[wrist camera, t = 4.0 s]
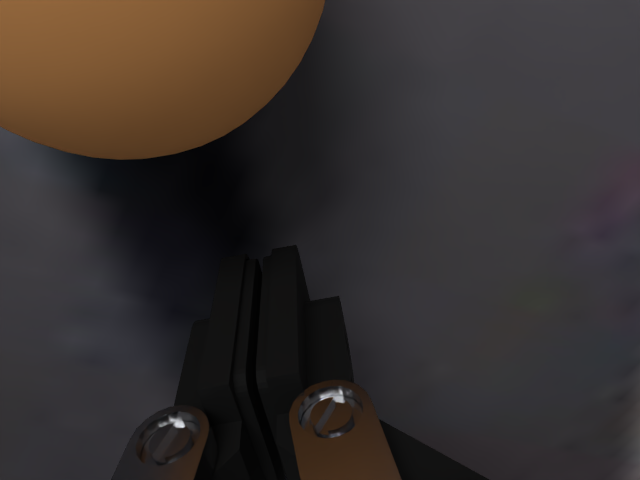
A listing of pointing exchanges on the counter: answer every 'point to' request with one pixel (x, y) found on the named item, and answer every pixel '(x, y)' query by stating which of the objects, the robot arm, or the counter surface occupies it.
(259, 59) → the ball
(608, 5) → the counter surface
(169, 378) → the counter surface
